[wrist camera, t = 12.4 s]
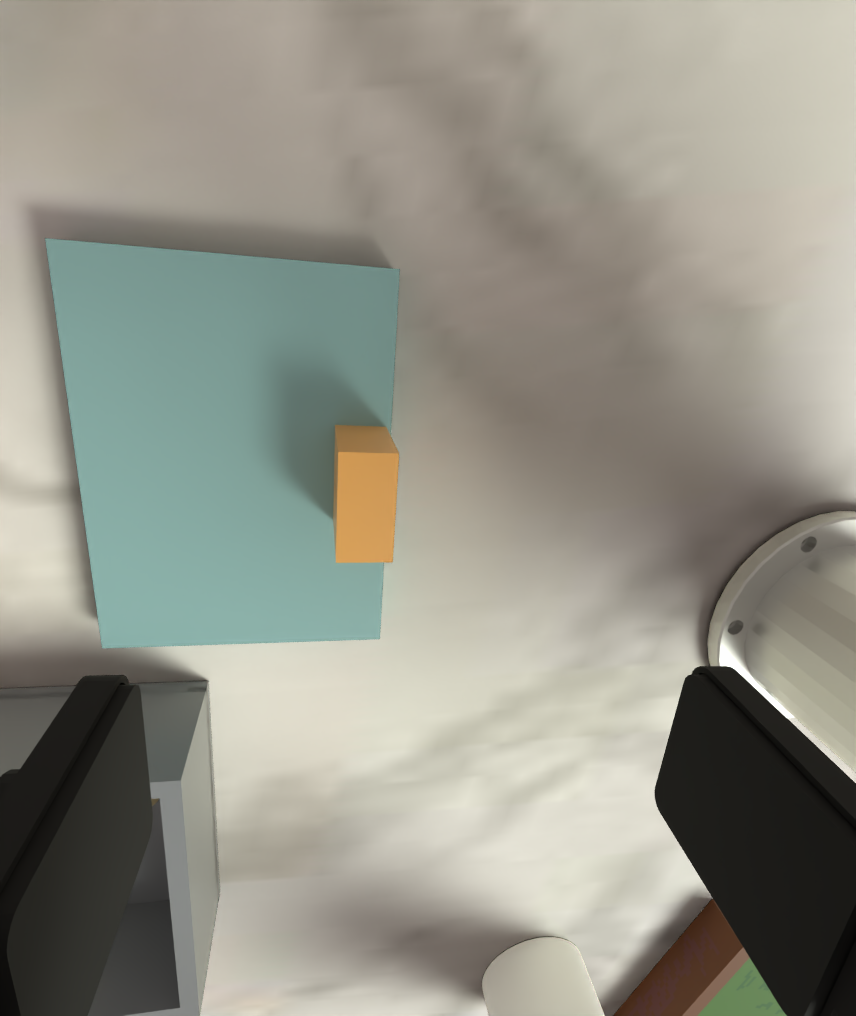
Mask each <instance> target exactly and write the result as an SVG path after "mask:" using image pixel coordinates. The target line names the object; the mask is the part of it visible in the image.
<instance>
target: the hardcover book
mask: <svg viewBox="0 0 856 1016" xmlns="http://www.w3.org/2000/svg"><path fill="white" fill-rule="evenodd" d="M613 1016H787V1015H786V1014H785V1013H784V1012H783V1010H782V1009H781V1007H780V1006H779V1004H778V1003H777V1001H776V999H775V998H774V996H773V995H772V993H771V991H770V990H769V988H768V987H767V985H766V983H765V982H764V980H763V978H762V977H761V975H760V974H759V972H758V970H757V969H756V967H755V965H754V964H753V962H752V961H751V959H750V957H749V956H748V954H747V953H746V951H745V949H744V948H743V946H742V944H741V943H740V941H739V940H738V938H737V936H736V935H735V933H734V931H733V930H732V928H731V927H730V925H729V923H728V922H727V920H726V918H725V917H724V915H723V914H722V912H721V910H720V909H719V907H718V906H717V904H716V902H715V901H714V899H712V900H711V901H710V902H709V903H708V904H707V906H706V907H705V908H704V909H703V910H702V911H701V913H700V914H699V915H698V916H697V917H696V919H695V920H694V921H693V922H692V923H691V924H690V926H689V927H688V928H687V929H686V930H685V931H684V933H683V934H682V935H681V936H680V937H679V939H678V940H677V941H676V942H675V943H674V944H673V946H672V947H671V948H670V949H669V950H668V952H667V953H666V954H665V955H664V956H663V957H662V959H661V960H660V961H659V962H658V963H657V964H656V966H655V967H654V968H653V969H652V970H651V972H650V973H649V974H648V975H647V976H646V977H645V979H644V980H643V981H642V982H641V983H640V985H639V986H638V987H637V988H636V989H635V990H634V992H633V993H632V994H631V995H630V996H629V998H628V999H627V1000H626V1001H625V1002H624V1003H623V1005H622V1006H621V1007H620V1008H619V1009H618V1010H617V1012H616V1013H615V1014H614V1015H613Z"/></svg>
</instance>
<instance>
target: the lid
mask: <svg viewBox="0 0 856 1016" xmlns="http://www.w3.org/2000/svg"><path fill="white" fill-rule="evenodd" d="M45 241H46V248H47V255H48V263H49V270H50V277H51V284H52V291H53V299H54V306H55V313H56V320H57V327H58V335H59V342H60V349H61V356H62V363H63V371H64V378H65V385H66V392H67V399H68V406H69V414H70V421H71V428H72V435H73V442H74V450H75V457H76V464H77V471H78V478H79V486H80V493H81V500H82V507H83V514H84V522H85V529H86V536H87V543H88V550H89V558H90V565H91V572H92V579H93V586H94V594H95V601H96V608H97V615H98V622H99V630H100V637H101V644H102V648H129V647H159V646H189V645H218V644H248V643H278V642H308V641H337V640H367V639H380V626H381V608H382V589H383V570H384V562H393V548H394V532H395V515H396V498H397V481H398V464H399V452H398V450H397V448H396V446H395V444H394V442H393V440H392V438H391V422H392V404H393V385H394V366H395V348H396V329H397V311H398V292H399V274H400V269H391V268H380V267H369V266H357V265H346V264H334V263H323V262H312V261H300V260H289V259H277V258H266V257H254V256H243V255H232V254H220V253H209V252H197V251H186V250H174V249H163V248H152V247H140V246H129V245H117V244H106V243H95V242H83V241H72V240H60V239H49V238H45Z"/></svg>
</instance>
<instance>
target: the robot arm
mask: <svg viewBox="0 0 856 1016" xmlns="http://www.w3.org/2000/svg"><path fill="white" fill-rule="evenodd" d="M707 644H708V658H709V662H710V666H700V667H697V668H695V670H694V671H693V672H692V675H688V676H687V677H686V678H685V681H684V684H683V687H682V691H681V695H680V698H679V702H678V706H677V709H676V713H675V717H674V720H673V724H672V728H671V731H670V735H669V739H668V742H667V746H666V750H665V753H664V757H663V761H662V764H661V768H660V772H659V775H658V779H657V783H656V786H655V800H656V804H657V807H658V809H659V811H660V813H661V815H662V816H663V818H664V820H665V821H666V823H667V825H668V826H669V828H670V829H671V831H672V833H673V834H674V836H675V838H676V839H677V841H678V842H679V844H680V846H681V847H682V849H683V850H684V852H685V854H686V855H687V857H688V859H689V860H690V862H691V863H692V865H693V867H694V868H695V870H696V872H697V873H698V875H699V876H700V878H701V880H702V881H703V883H704V884H705V886H706V888H707V889H708V891H709V893H710V894H711V896H712V897H713V899H714V901H715V902H716V904H717V906H718V907H719V909H720V910H721V912H722V914H723V915H724V917H725V918H726V920H727V922H728V923H729V925H730V927H731V928H732V930H733V931H734V933H735V935H736V936H737V938H738V940H739V941H740V943H741V944H742V946H743V948H744V949H745V951H746V953H747V954H748V956H749V957H750V959H751V961H752V962H753V964H754V965H755V967H756V969H757V970H758V972H759V974H760V975H761V977H762V978H763V980H764V982H765V983H766V985H767V987H768V988H769V990H770V991H771V993H772V995H773V996H774V998H775V999H776V1001H777V1003H778V1004H779V1006H780V1007H781V1009H782V1010H783V1012H784V1013H785V1014H786V1015H787V1016H856V783H855V782H854V781H853V780H852V779H850V778H849V777H848V776H847V775H846V774H845V773H844V772H843V771H842V770H841V769H840V768H839V767H838V766H837V765H836V764H835V763H834V762H833V761H831V760H830V759H829V758H828V757H827V756H826V755H825V754H824V753H823V752H822V751H821V750H820V749H819V748H818V747H817V746H816V745H815V744H814V743H812V742H811V741H810V740H809V739H808V738H807V737H806V736H805V735H804V734H803V733H802V732H801V731H800V730H799V729H798V728H797V727H796V726H795V725H793V724H792V723H791V722H790V721H789V720H788V719H787V718H796V719H797V720H798V721H799V722H800V723H801V724H802V725H803V726H804V727H806V728H807V729H808V730H809V731H810V732H811V733H812V734H813V735H814V736H816V737H817V738H818V739H819V740H820V741H821V742H822V743H823V744H824V745H825V746H827V747H828V748H829V749H830V750H831V751H832V752H833V753H834V754H835V755H836V756H838V757H839V758H840V759H841V760H842V761H843V762H844V763H845V764H846V765H847V766H849V767H850V768H851V769H852V770H853V771H854V772H855V773H856V511H837V512H831V513H826V514H820V515H817V516H814V517H811V518H809V519H806V520H803V521H800V522H798V523H796V524H794V525H792V526H790V527H789V528H787V529H785V530H783V531H781V532H780V533H778V534H776V535H775V536H774V537H772V538H771V539H770V540H768V541H767V542H766V543H764V544H763V545H762V546H761V547H759V548H758V549H757V550H756V551H755V552H754V553H753V554H752V555H751V556H750V557H749V558H748V559H747V560H746V561H745V562H744V563H743V564H742V565H741V566H740V568H739V569H738V570H737V572H736V573H735V574H734V576H733V577H732V578H731V580H730V581H729V582H728V584H727V585H726V587H725V589H724V591H723V593H722V595H721V597H720V599H719V601H718V602H717V605H716V607H715V610H714V613H713V616H712V619H711V622H710V628H709V635H708V642H707ZM152 823H153V811H152V801H151V791H150V781H149V771H148V760H147V750H146V740H145V730H144V720H143V710H142V700H141V691H140V687H139V685H129V683H128V679H127V677H126V676H124V675H101V676H85V677H83V678H82V679H81V680H80V681H79V683H78V684H77V685H76V687H75V688H74V690H73V691H72V693H71V694H70V696H69V697H68V699H67V700H66V702H65V703H64V705H63V706H62V708H61V709H60V711H59V712H58V714H57V715H56V717H55V718H54V720H53V721H52V722H51V724H50V725H49V727H48V728H47V730H46V731H45V733H44V734H43V736H42V737H41V739H40V740H39V742H38V743H37V745H36V746H35V748H34V749H33V751H32V752H31V754H30V755H29V756H28V758H27V759H26V761H25V762H24V764H23V765H22V767H21V768H20V769H10V770H9V771H7V772H5V773H4V774H2V776H1V777H0V1016H88V1014H89V1011H90V1008H91V1005H92V1002H93V999H94V997H95V994H96V991H97V988H98V985H99V982H100V979H101V977H102V974H103V971H104V968H105V965H106V962H107V959H108V957H109V954H110V951H111V948H112V945H113V942H114V939H115V937H116V934H117V931H118V928H119V925H120V922H121V919H122V917H123V914H124V911H125V908H126V905H127V902H128V900H129V897H130V894H131V891H132V888H133V885H134V882H135V880H136V877H137V874H138V871H139V868H140V865H141V862H142V860H143V857H144V854H145V851H146V848H147V845H148V842H149V839H150V835H151V831H152Z"/></svg>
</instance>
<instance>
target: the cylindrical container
mask: <svg viewBox="0 0 856 1016" xmlns="http://www.w3.org/2000/svg"><path fill="white" fill-rule="evenodd" d="M482 989H483V994H484V998H485V1002H486V1007H487V1011H488V1015H489V1016H605V1015H604V1012H603V1010H602V1007H601V1005H600V1002H599V999H598V997H597V994H596V992H595V989H594V987H593V984H592V981H591V979H590V976H589V974H588V971H587V969H586V966H585V964H584V961H583V958H582V956H581V953H580V951H579V950H578V948H577V947H576V946H575V945H574V944H573V943H571V942H570V941H567V940H565V939H561V938H556V937H542V938H535V939H531V940H527V941H524V942H522V943H519V944H517V945H515V946H513V947H511V948H509V949H507V950H506V951H504V952H503V953H502V954H500V955H499V956H498V957H497V958H496V959H495V960H494V961H493V962H492V963H491V964H490V965H489V967H488V968H487V969H486V971H485V974H484V976H483V980H482Z"/></svg>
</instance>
